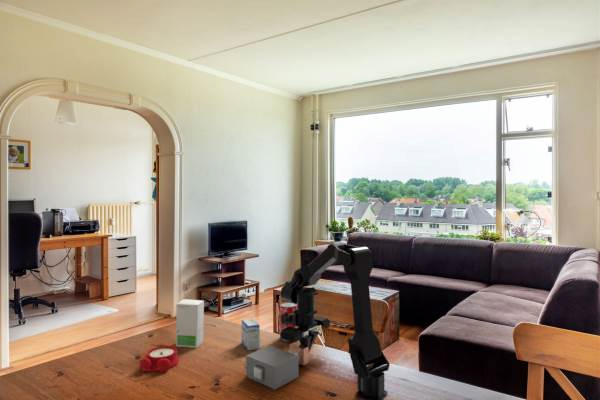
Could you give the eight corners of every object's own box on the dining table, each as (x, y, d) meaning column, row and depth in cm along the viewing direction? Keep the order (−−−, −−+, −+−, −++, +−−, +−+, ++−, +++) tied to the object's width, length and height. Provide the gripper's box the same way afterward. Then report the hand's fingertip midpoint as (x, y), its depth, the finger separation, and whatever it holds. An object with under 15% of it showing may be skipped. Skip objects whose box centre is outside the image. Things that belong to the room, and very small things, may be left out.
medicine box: (241, 343, 148) (241, 319, 148) (253, 341, 150) (252, 317, 149) (247, 350, 141) (247, 326, 140) (260, 348, 143) (259, 324, 142)
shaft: (308, 363, 129) (308, 346, 129) (264, 385, 114) (264, 367, 114) (294, 357, 133) (294, 342, 133) (250, 379, 118) (250, 361, 118)
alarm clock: (184, 345, 137) (167, 353, 122) (183, 365, 136) (165, 375, 121) (154, 344, 138) (133, 352, 123) (153, 364, 136) (132, 374, 122)
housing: (298, 376, 121) (298, 355, 121) (275, 389, 113) (274, 366, 113) (270, 365, 129) (270, 345, 129) (246, 376, 121) (246, 355, 121)
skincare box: (175, 347, 144) (174, 303, 144) (183, 340, 151) (182, 298, 151) (198, 348, 143) (197, 304, 143) (204, 341, 150) (204, 299, 150)
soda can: (296, 342, 148) (296, 307, 147) (277, 341, 149) (277, 306, 149) (300, 335, 155) (300, 302, 154) (282, 334, 156) (281, 301, 156)
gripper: (305, 296, 145) (305, 340, 145) (267, 308, 131) (268, 356, 131) (330, 302, 137) (330, 348, 138) (293, 315, 123) (294, 366, 124)
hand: (306, 354), depth 133 cm, fingers closed
